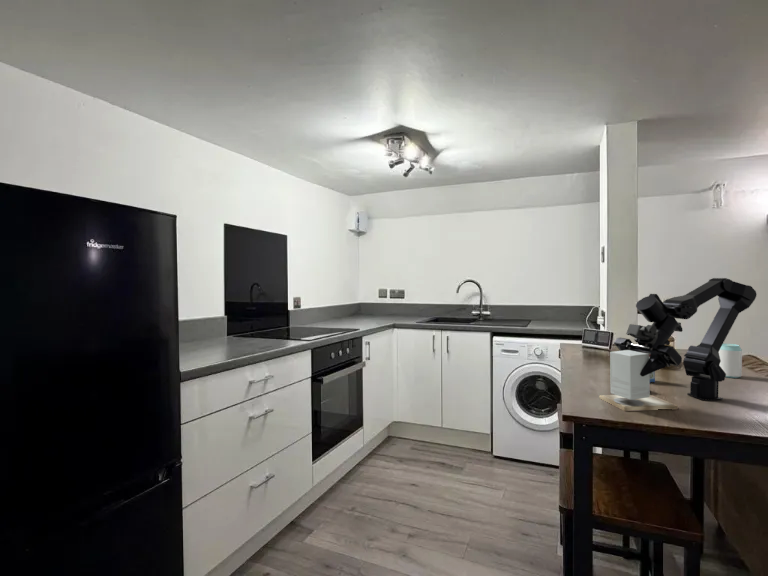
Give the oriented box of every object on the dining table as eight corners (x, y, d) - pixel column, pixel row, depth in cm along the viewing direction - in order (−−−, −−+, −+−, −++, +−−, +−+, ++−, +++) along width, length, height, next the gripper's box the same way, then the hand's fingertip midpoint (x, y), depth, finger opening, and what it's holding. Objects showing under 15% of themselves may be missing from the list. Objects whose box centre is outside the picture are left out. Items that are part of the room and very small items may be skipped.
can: (746, 378, 155) (747, 346, 154) (727, 378, 155) (727, 346, 154) (731, 374, 162) (731, 343, 161) (712, 374, 162) (713, 343, 162)
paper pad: (648, 397, 132) (648, 393, 132) (677, 409, 120) (677, 404, 120) (599, 398, 131) (599, 394, 131) (624, 410, 119) (624, 406, 119)
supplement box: (650, 397, 120) (650, 353, 120) (630, 400, 118) (630, 355, 118) (628, 390, 128) (628, 349, 127) (609, 393, 125) (609, 351, 125)
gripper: (618, 311, 133) (589, 349, 130) (674, 317, 115) (642, 360, 112) (638, 335, 135) (610, 372, 132) (695, 344, 117) (665, 387, 114)
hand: (629, 372), depth 123 cm, fingers closed on supplement box, 7 cm apart
